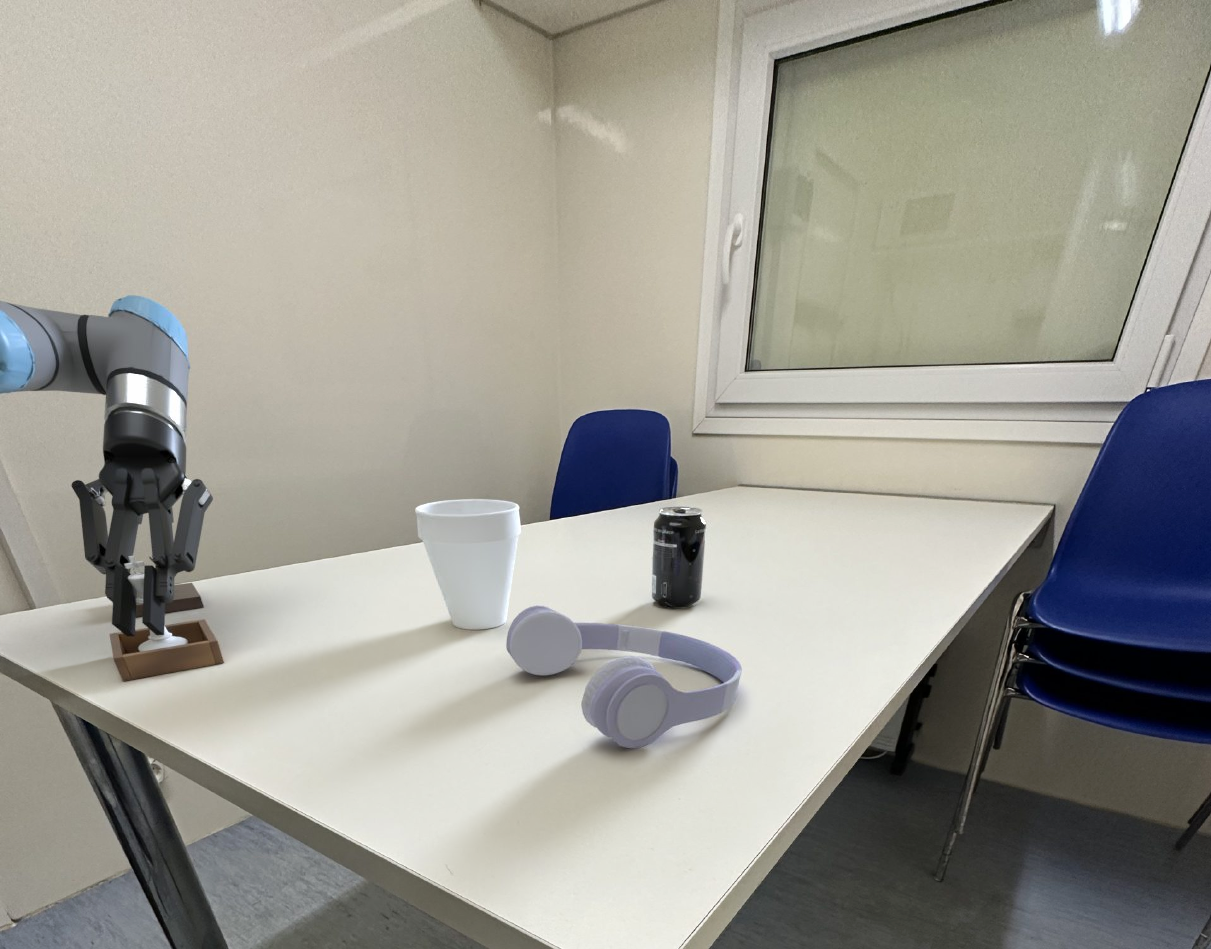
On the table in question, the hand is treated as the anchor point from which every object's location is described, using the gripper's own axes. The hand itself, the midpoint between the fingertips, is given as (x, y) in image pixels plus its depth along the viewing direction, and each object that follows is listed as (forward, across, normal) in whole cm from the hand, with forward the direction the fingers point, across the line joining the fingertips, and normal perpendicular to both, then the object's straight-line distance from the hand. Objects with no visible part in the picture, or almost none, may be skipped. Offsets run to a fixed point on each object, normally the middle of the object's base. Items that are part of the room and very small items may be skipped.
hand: (138, 629), depth 69 cm
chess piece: (0, 0, -5) cm, 5 cm away
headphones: (+13, -50, +7) cm, 52 cm away
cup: (-5, -34, -12) cm, 37 cm away
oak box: (0, 0, -6) cm, 6 cm away
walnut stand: (-16, +9, -22) cm, 29 cm away
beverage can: (-8, -61, -14) cm, 64 cm away
